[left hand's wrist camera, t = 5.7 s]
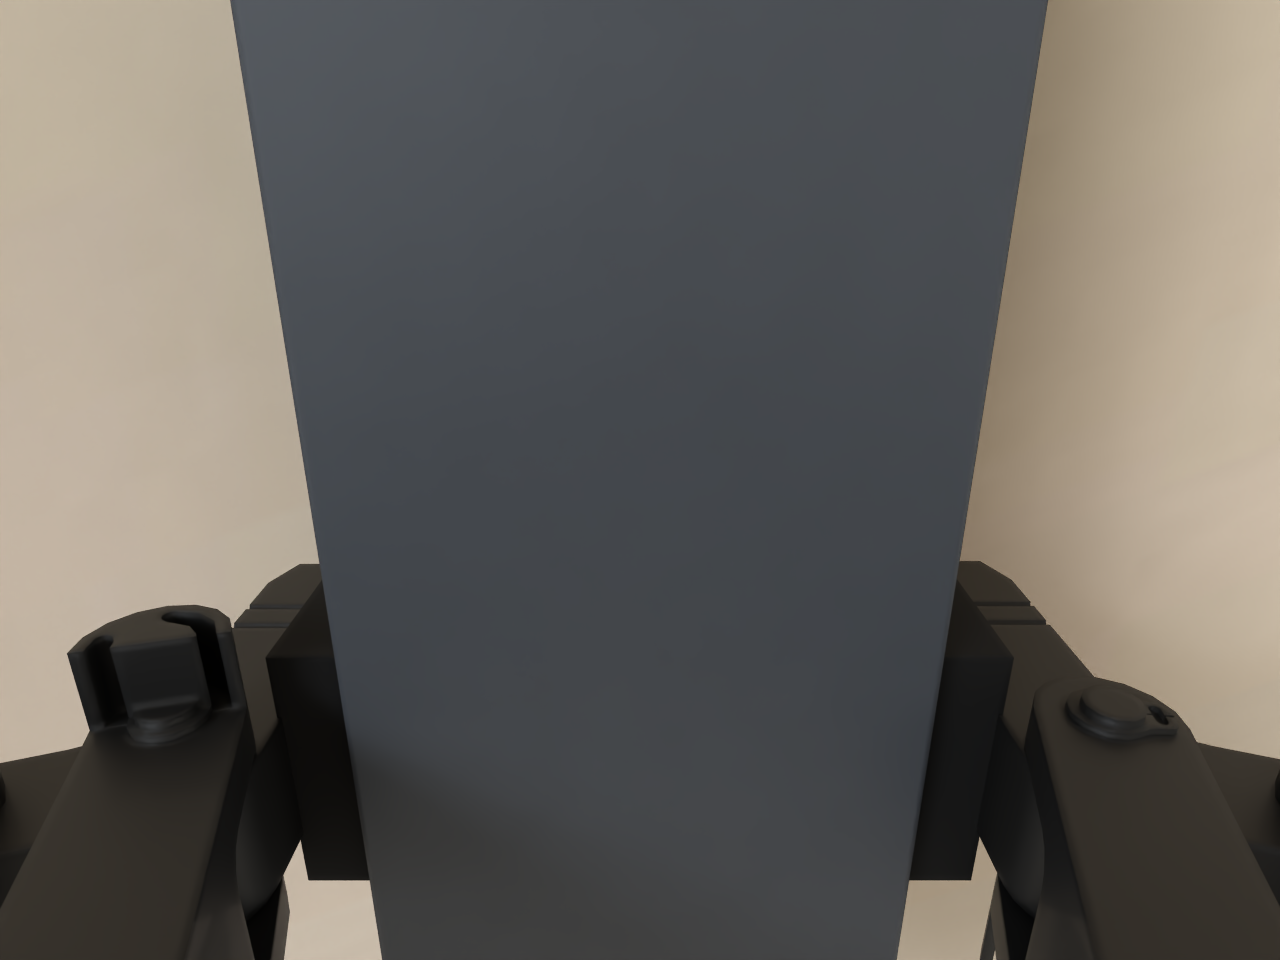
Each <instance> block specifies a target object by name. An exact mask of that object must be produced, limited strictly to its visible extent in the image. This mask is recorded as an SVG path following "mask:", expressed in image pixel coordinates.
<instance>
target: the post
mask: <svg viewBox="0 0 1280 960" xmlns="http://www.w3.org/2000/svg"><path fill="white" fill-rule="evenodd" d="M230 1H231V8H232V14H233V20H234V27H235V33H236V39H237V46H238V52H239V58H240V65H241V71H242V77H243V83H244V90H245V96H246V102H247V109H248V115H249V121H250V128H251V134H252V140H253V147H254V153H255V159H256V165H257V172H258V178H259V184H260V191H261V197H262V203H263V210H264V216H265V222H266V229H267V235H268V241H269V248H270V254H271V260H272V266H273V273H274V279H275V285H276V292H277V298H278V304H279V311H280V317H281V323H282V330H283V336H284V342H285V348H286V355H287V361H288V367H289V374H290V380H291V386H292V393H293V399H294V405H295V412H296V418H297V424H298V431H299V437H300V443H301V449H302V456H303V462H304V468H305V475H306V481H307V487H308V494H309V500H310V506H311V513H312V519H313V525H314V531H315V538H316V544H317V550H318V557H319V563H320V569H321V576H322V582H323V588H324V595H325V601H326V607H327V614H328V620H329V626H330V632H331V639H332V645H333V651H334V658H335V664H336V670H337V677H338V683H339V689H340V696H341V702H342V708H343V714H344V721H345V727H346V733H347V740H348V746H349V752H350V759H351V765H352V771H353V778H354V784H355V790H356V797H357V803H358V809H359V815H360V822H361V828H362V834H363V841H364V847H365V853H366V860H367V866H368V872H369V879H370V885H371V891H372V897H373V904H374V910H375V916H376V923H377V929H378V935H379V942H380V948H381V954H382V960H897V953H898V947H899V941H900V934H901V928H902V922H903V915H904V909H905V903H906V896H907V890H908V884H909V877H910V871H911V865H912V858H913V852H914V846H915V839H916V833H917V827H918V820H919V814H920V808H921V801H922V795H923V789H924V782H925V776H926V770H927V763H928V757H929V751H930V744H931V738H932V732H933V725H934V719H935V713H936V706H937V700H938V694H939V687H940V681H941V675H942V668H943V662H944V656H945V649H946V643H947V637H948V630H949V624H950V618H951V611H952V605H953V599H954V592H955V586H956V580H957V573H958V567H959V561H960V554H961V548H962V542H963V535H964V529H965V523H966V516H967V510H968V504H969V497H970V491H971V485H972V478H973V472H974V466H975V459H976V453H977V447H978V440H979V434H980V428H981V421H982V415H983V409H984V402H985V396H986V390H987V383H988V377H989V371H990V364H991V358H992V352H993V345H994V339H995V333H996V326H997V320H998V314H999V307H1000V301H1001V295H1002V288H1003V282H1004V276H1005V269H1006V263H1007V257H1008V250H1009V244H1010V238H1011V231H1012V225H1013V219H1014V212H1015V206H1016V200H1017V193H1018V187H1019V181H1020V174H1021V168H1022V162H1023V155H1024V149H1025V143H1026V136H1027V130H1028V124H1029V117H1030V111H1031V105H1032V98H1033V92H1034V86H1035V79H1036V73H1037V67H1038V60H1039V54H1040V48H1041V41H1042V35H1043V29H1044V22H1045V16H1046V10H1047V3H1048V0H230Z"/></svg>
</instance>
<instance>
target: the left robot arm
mask: <svg viewBox="0 0 1280 960" xmlns="http://www.w3.org/2000/svg"><path fill="white" fill-rule="evenodd" d="M67 655H68V659H69V662H70V665H71V669H72V672H73V675H74V679H75V682H76V686H77V689H78V692H79V696H80V699H81V702H82V706H83V709H84V713H85V716H86V719H87V723H88V726H89V729H90V732H89V734H88V736H87V738H86V740H85V742H84V744H83V746H81V747H77V748H73V749H70V750H65V751H60V752H55V753H50V754H45V755H40V756H35V757H30V758H24V759H19V760H14V761H9V762H4V763H0V960H284V954H285V946H286V938H287V930H288V922H289V914H290V910H289V903H288V896H287V891H286V886H285V881H284V876H283V874H284V872H285V870H286V868H287V866H288V864H289V862H290V860H291V858H292V856H293V854H294V852H295V850H296V848H297V846H298V844H299V842H300V840H301V844H302V849H303V854H304V860H305V865H306V870H307V875H308V880H370V879H369V872H368V866H367V860H366V853H365V847H364V841H363V834H362V828H361V822H360V815H359V809H358V803H357V797H356V790H355V784H354V778H353V771H352V765H351V759H350V752H349V746H348V740H347V733H346V727H345V721H344V714H343V708H342V702H341V696H340V689H339V683H338V677H337V670H336V664H335V658H334V651H333V645H332V639H331V632H330V626H329V620H328V614H327V607H326V601H325V595H324V588H323V582H322V576H321V569H320V564H299V565H298V566H296V567H294V568H293V569H291V570H289V571H288V572H286V573H284V574H283V575H281V576H279V577H278V578H276V579H274V580H272V581H271V582H269V583H268V584H267V585H266V586H265V588H264V589H263V590H262V591H261V592H260V593H259V595H258V596H257V597H256V598H255V599H254V601H253V602H252V603H251V604H250V609H246V610H245V611H244V612H243V614H242V615H241V616H240V617H239V618H238V619H237V621H236V622H235V623H234V628H232V627H231V622H230V618H229V617H227V616H226V615H224V614H223V613H222V612H220V611H219V610H218V609H214V608H209V607H204V606H199V605H181V606H165V607H161V608H156V609H151V610H146V611H141V612H137V613H134V614H131V615H129V616H126V617H123V618H120V619H118V620H115V621H112V622H109V623H107V624H105V625H104V626H102V627H100V628H98V629H97V630H95V631H93V632H91V633H90V634H88V635H86V636H85V637H83V638H82V639H81V640H80V641H79V642H78V643H77V644H76V645H75V646H74V647H73V648H72V649H71V650H70V651H69V652H68V653H67ZM979 836H980V838H981V840H982V842H983V844H984V846H985V849H986V851H987V853H988V855H989V857H990V859H991V861H992V863H993V865H994V867H995V869H996V871H997V876H996V881H995V886H994V891H993V896H992V900H991V905H990V910H989V915H988V920H987V924H986V929H985V934H984V939H983V944H982V949H981V955H980V960H993V956H994V951H995V952H996V960H1280V759H1275V758H1270V757H1265V756H1260V755H1255V754H1250V753H1245V752H1240V751H1235V750H1230V749H1224V748H1219V747H1214V746H1210V745H1206V744H1202V743H1198V742H1196V740H1195V738H1194V736H1193V734H1192V732H1191V730H1190V729H1189V728H1188V726H1187V725H1186V724H1185V723H1184V722H1183V720H1182V719H1181V718H1180V717H1179V715H1178V714H1177V713H1176V712H1175V711H1173V710H1172V709H1170V708H1169V707H1168V706H1166V705H1165V704H1163V703H1162V702H1160V701H1159V700H1157V699H1156V698H1154V697H1153V696H1151V695H1148V694H1146V693H1144V692H1141V691H1139V690H1137V689H1134V688H1132V687H1130V686H1127V685H1125V684H1122V683H1117V682H1113V681H1109V680H1105V679H1101V678H1096V677H1094V676H1093V675H1092V674H1091V673H1090V671H1089V670H1088V669H1087V668H1086V667H1085V666H1084V664H1083V663H1082V662H1081V661H1080V660H1079V659H1078V657H1077V656H1076V655H1075V654H1074V653H1073V652H1072V650H1071V649H1070V648H1069V647H1068V646H1067V644H1066V643H1065V642H1064V641H1063V640H1062V639H1061V637H1060V636H1059V635H1058V634H1057V633H1056V632H1055V630H1054V629H1053V628H1052V627H1051V626H1050V625H1046V620H1045V619H1044V617H1043V616H1042V615H1041V614H1040V613H1039V612H1038V610H1037V609H1036V608H1035V607H1034V606H1030V601H1029V600H1028V599H1027V597H1026V596H1025V595H1024V594H1023V593H1022V592H1021V590H1020V589H1019V588H1018V587H1017V586H1016V585H1015V583H1014V582H1013V581H1012V580H1011V579H1009V578H1007V577H1006V576H1004V575H1002V574H1001V573H999V572H997V571H996V570H994V569H992V568H991V567H989V566H987V565H986V564H984V563H982V562H980V561H959V567H958V573H957V580H956V586H955V592H954V599H953V605H952V611H951V618H950V624H949V630H948V637H947V643H946V649H945V656H944V662H943V668H942V675H941V681H940V687H939V694H938V700H937V706H936V713H935V719H934V725H933V732H932V738H931V744H930V751H929V757H928V763H927V770H926V776H925V782H924V789H923V795H922V801H921V808H920V814H919V820H918V827H917V833H916V839H915V846H914V852H913V858H912V865H911V871H910V877H909V880H971V877H972V872H973V867H974V862H975V857H976V851H977V846H978V841H979Z"/></svg>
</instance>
